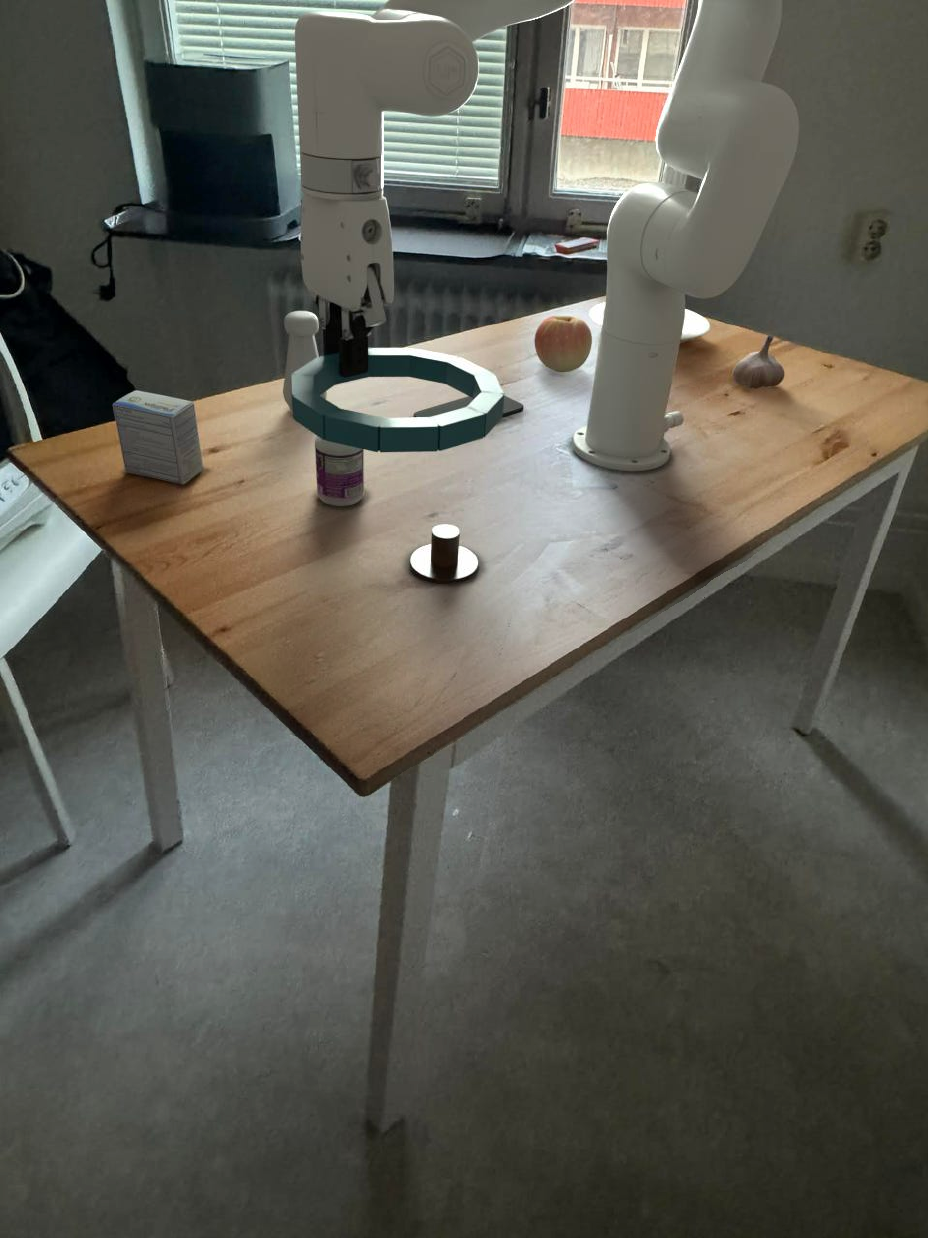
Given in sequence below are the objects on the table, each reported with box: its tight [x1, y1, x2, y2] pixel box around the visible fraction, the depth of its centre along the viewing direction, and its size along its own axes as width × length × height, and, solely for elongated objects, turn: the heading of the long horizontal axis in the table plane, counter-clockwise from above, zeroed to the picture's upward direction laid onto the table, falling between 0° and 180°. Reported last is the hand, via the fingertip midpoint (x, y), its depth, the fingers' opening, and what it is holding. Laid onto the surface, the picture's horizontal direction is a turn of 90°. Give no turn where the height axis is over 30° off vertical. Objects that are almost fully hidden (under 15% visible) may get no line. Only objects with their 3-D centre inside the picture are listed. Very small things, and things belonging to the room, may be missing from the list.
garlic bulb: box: [732, 334, 785, 390], centre depth 135 cm, size 8×7×8 cm
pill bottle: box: [314, 435, 365, 507], centre depth 98 cm, size 5×5×10 cm
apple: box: [533, 315, 593, 373], centre depth 136 cm, size 9×9×8 cm
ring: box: [291, 347, 505, 453], centre depth 86 cm, size 20×20×2 cm
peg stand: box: [409, 523, 479, 585], centre depth 89 cm, size 7×7×4 cm
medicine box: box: [112, 390, 204, 486], centre depth 101 cm, size 8×4×9 cm, turn 71°
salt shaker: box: [282, 310, 328, 413], centre depth 116 cm, size 6×6×13 cm
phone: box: [413, 395, 525, 420], centre depth 121 cm, size 7×1×15 cm
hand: (346, 368), depth 92 cm, fingers closed on ring, 2 cm apart
